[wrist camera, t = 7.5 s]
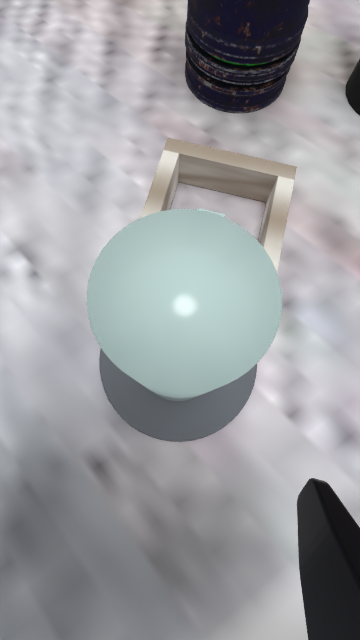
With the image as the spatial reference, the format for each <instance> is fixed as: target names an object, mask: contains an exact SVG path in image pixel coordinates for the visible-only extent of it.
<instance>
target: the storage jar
mask: <svg viewBox="0 0 360 640" xmlns="http://www.w3.org/2000/svg"><path fill="white" fill-rule="evenodd" d="M309 2H310V0H188V11H187V21H186V33H185V45H186V59H187V60H186V67H185V77H186V82H187V84H188V86H189V88H190V90H191V91H192V93H193V94H194V95H195V96H196V97H197V98H198V99H199V100H200V101H202V102H203V103H205V104H206V105H208V106H210V107H212V108H215V109H217V110H221V111H224V112H230V113H248V112H253V111H257V110H260V109H262V108H264V107H266V106H268V105H270V104H271V103H272V102H274V101H275V100H276V99H277V98H278V96H279V95H280V93H281V92H282V90H283V87H284V84H285V81H286V75H287V74H288V72H289V69H290V66H291V64H292V63H293V61H294V59H295V56H296V53H297V50H298V47H299V44H300V41H301V35H302V32H303V29H304V26H305V23H306V20H307V17H308V5H309Z"/></svg>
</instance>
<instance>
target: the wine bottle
mask: <svg viewBox="0 0 360 640" xmlns="http://www.w3.org/2000/svg"><path fill="white" fill-rule="evenodd" d="M346 96H347V99H348V101H349V104H350V105H351V106H352V107H353V109H354V110H355V111H356V112H357V113H358V114H359V115H360V60H359V62H358V63H357V65H356V67H355V69H354V71H353V73H352V75H351V76H350V78H349V80H348V82H347V84H346Z"/></svg>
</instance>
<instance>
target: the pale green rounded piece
mask: <svg viewBox="0 0 360 640" xmlns="http://www.w3.org/2000/svg"><path fill="white" fill-rule="evenodd" d="M225 215H226V214H222V213H217V212H213V211H209V210H205V209H201V208H198V209H197V210H194V209H172V210H166V211H160V212H157V213H153V214H150V215H147V216H145V217H142V218H140V219H138V220H136V221H134V222H132V223H131V224H129V225H127V226H126V227H125V228H123V229H122V230H121V231H119V232H118V233H117V234H116V235H115V236H114V237H113V238H112V239H111V240H110V241H109V242H108V243H107V245H106V246H105V247H104V248H103V250H102V251H101V253H100V255H99V256H98V258H97V260H96V262H95V264H94V266H93V269H92V272H91V275H90V278H89V283H88V289H87V310H88V317H89V321H90V325H91V328H92V331H93V333H94V335H95V338H96V340H97V342H98V343H99V345H100V347H101V348H102V350H103V352H104V353H105V354H106V355H107V356H108V358H109V359H110V360H111V361H112V362H113V363H114V364H115V365H116V366H117V367H118V368H119V369H120V370H121V371H123V372H124V373H126V374H127V375H129V376H130V377H131V378H133V379H134V380H136V381H137V382H139V383H140V384H141V385H143V386H144V387H146V388H147V389H149V390H150V391H152V392H153V393H154V394H156V395H157V396H159V397H161V398H164V399H166V400H171V401H186V400H190V399H193V398H195V397H198V396H200V395H202V394H205V393H207V392H210V391H212V390H214V389H217V388H219V387H222V386H224V385H226V384H228V383H230V382H232V381H234V380H236V379H238V378H239V377H241V376H242V375H244V374H245V373H246V372H248V371H249V370H250V369H251V368H252V367H253V366H255V365H256V364H257V363H258V362H259V361H260V359H261V358H262V357H263V356H264V354H265V353H266V352H267V350H268V348H269V347H270V345H271V343H272V342H273V340H274V337H275V335H276V332H277V330H278V327H279V323H280V319H281V311H282V292H281V286H280V281H279V277H278V274H277V271H276V269H275V267H274V264H273V262H272V260H271V258H270V257H269V255H268V254H267V252H266V250H265V249H264V248H263V247H262V245H261V244H260V243H259V242H258V241H257V240H256V239H255V238H254V237H253V236H252V235H251V234H250V233H249V232H248V231H246V230H245V229H244V228H242V227H241V226H240V225H238V224H236V223H234V222H233V221H231V220H229V219H227V218H225Z"/></svg>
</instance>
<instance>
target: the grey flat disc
mask: <svg viewBox="0 0 360 640" xmlns="http://www.w3.org/2000/svg"><path fill="white" fill-rule="evenodd" d="M256 370H257V364H256V365H255V366H253V367H252V368H251V369H250V370H249V371H248V372H246V373H245V374H244V375H242V376H241V377H239V378H238V379H236V380H234V381H232V382H230V383H228V384H226V385H224V386H222V387H219V388H217V389H214V390H212V391H210V392H207V393H205V394H202V395H200V396H198V397H195V398H193V399H190V400H186V401H171V400H166V399H164V398H161V397H159V396H157V395H156V394H154V393H153V392H152V391H150V390H149V389H147V388H146V387H144V386H143V385H141V384H140V383H139V382H137V381H136V380H134V379H133V378H131V377H130V376H129V375H127V374H126V373H124V372H123V371H121V370H120V369H119V368H118V367H117V366H116V365H115V364H114V363H113V362H112V361H111V360H110V359H109V358H108V356H107V355H106V354H105V353H104V352H103V350H102V348H101V351H100V374H101V380H102V384H103V387H104V390H105V393H106V395H107V397H108V399H109V401H110V403H111V404H112V406H113V407H114V409H115V410H116V411H117V413H118V414H119V415H120V416H121V417H122V418H123V419H124V420H125V421H126V422H127V423H128V424H129V425H131V426H132V427H134V428H135V429H137V430H138V431H140V432H142V433H144V434H146V435H148V436H151V437H154V438H157V439H161V440H167V441H191V440H196V439H199V438H203V437H206V436H208V435H211V434H213V433H215V432H217V431H218V430H220V429H222V428H223V427H224V426H226V425H227V424H228V423H230V422H231V421H232V420H233V419H234V418H235V417H236V416H237V415H238V414H239V412H240V411H241V410H242V408H243V407H244V405H245V404H246V402H247V400H248V398H249V396H250V394H251V391H252V389H253V386H254V382H255V378H256Z"/></svg>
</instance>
